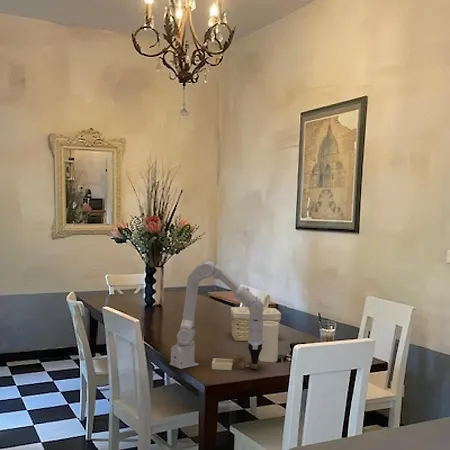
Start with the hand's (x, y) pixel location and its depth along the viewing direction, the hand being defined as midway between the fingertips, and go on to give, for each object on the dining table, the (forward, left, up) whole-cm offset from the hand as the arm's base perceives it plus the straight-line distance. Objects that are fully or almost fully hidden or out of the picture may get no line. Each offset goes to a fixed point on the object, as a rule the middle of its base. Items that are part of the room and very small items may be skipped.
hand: (254, 362), depth 217 cm
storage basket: (+37, +38, -3) cm, 53 cm away
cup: (+14, +7, -3) cm, 16 cm away
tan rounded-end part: (-2, +3, -2) cm, 4 cm away
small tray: (-9, +9, -2) cm, 13 cm away
